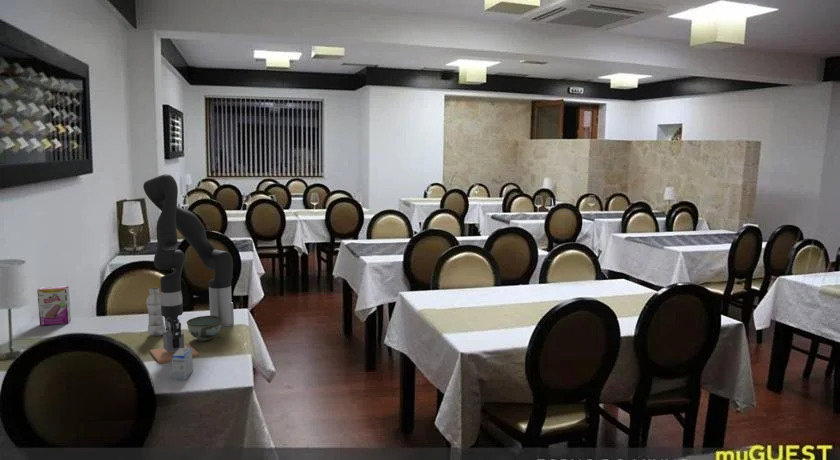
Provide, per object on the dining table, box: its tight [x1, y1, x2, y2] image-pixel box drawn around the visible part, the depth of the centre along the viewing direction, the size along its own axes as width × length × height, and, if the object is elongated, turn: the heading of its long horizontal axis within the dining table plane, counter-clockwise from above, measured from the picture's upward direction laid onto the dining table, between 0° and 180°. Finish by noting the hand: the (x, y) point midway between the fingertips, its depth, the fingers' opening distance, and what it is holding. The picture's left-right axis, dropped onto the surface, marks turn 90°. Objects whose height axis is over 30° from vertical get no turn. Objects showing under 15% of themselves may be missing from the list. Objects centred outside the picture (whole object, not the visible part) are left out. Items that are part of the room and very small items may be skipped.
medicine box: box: [171, 348, 194, 381], centre depth 200 cm, size 8×4×9 cm, turn 5°
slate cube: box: [162, 331, 185, 352], centre depth 220 cm, size 6×6×6 cm
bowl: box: [186, 315, 222, 342], centre depth 238 cm, size 14×13×8 cm
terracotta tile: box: [149, 342, 199, 364], centre depth 221 cm, size 14×14×1 cm
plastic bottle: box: [145, 287, 166, 337], centre depth 241 cm, size 6×7×20 cm
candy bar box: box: [36, 285, 72, 327], centre depth 255 cm, size 11×5×16 cm, turn 108°
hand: (173, 345), depth 221 cm, fingers closed on slate cube, 5 cm apart
